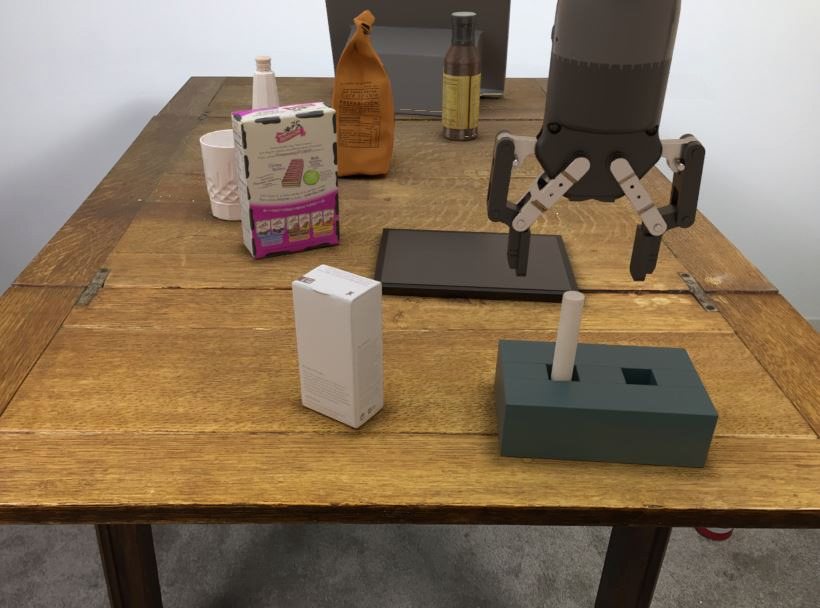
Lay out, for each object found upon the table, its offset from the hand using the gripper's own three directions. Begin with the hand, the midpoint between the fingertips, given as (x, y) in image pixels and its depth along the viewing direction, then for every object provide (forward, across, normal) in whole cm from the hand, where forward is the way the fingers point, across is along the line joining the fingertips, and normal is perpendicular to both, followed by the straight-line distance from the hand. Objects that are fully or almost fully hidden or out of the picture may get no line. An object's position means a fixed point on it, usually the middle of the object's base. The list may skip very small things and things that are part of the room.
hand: (578, 274), depth 58 cm
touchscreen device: (+14, -16, +104) cm, 106 cm away
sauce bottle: (+14, -8, +81) cm, 83 cm away
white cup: (+14, -37, +43) cm, 59 cm away
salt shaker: (+14, -42, +88) cm, 99 cm away
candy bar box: (+14, -28, +33) cm, 46 cm away
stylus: (+14, 0, 0) cm, 14 cm away
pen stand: (+14, +3, 0) cm, 14 cm away
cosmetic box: (+14, -18, 0) cm, 23 cm away
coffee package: (+14, -22, +63) cm, 68 cm away
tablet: (+14, -6, +29) cm, 33 cm away
